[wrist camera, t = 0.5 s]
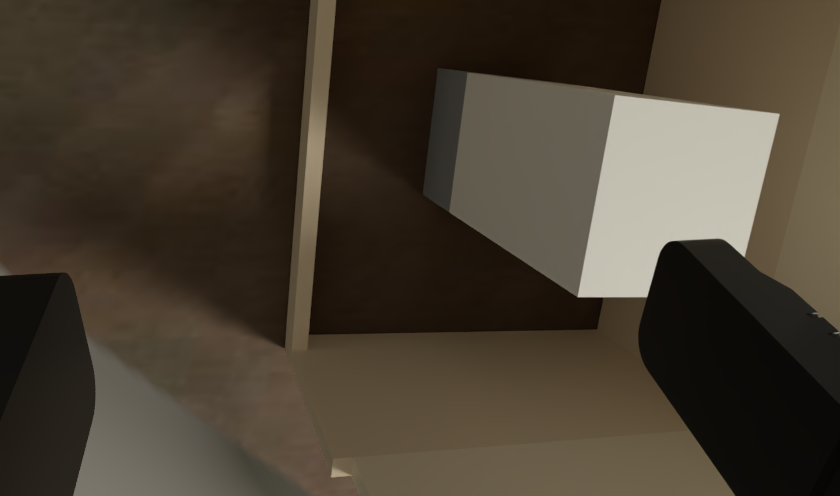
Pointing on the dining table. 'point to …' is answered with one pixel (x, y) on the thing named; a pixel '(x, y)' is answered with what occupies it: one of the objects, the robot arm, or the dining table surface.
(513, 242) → the box
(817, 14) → the storage bin
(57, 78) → the dining table surface
